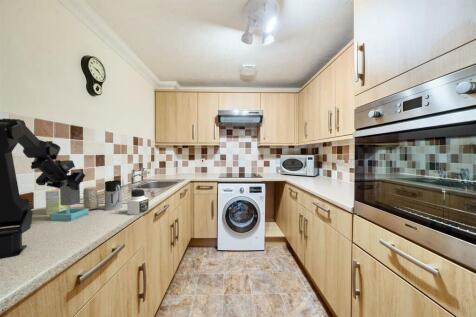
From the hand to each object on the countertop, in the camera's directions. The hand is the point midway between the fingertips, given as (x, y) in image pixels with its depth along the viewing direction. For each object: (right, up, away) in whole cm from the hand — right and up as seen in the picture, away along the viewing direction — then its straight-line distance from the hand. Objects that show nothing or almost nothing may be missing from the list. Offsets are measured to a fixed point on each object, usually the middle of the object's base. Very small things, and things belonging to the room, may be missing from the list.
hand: (72, 189), depth 95 cm
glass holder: (+12, -13, +14) cm, 22 cm away
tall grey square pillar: (0, -7, -1) cm, 7 cm away
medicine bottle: (+28, -13, +7) cm, 32 cm away
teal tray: (0, -13, -1) cm, 13 cm away
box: (-15, -13, +9) cm, 22 cm away
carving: (-1, -13, +13) cm, 18 cm away
